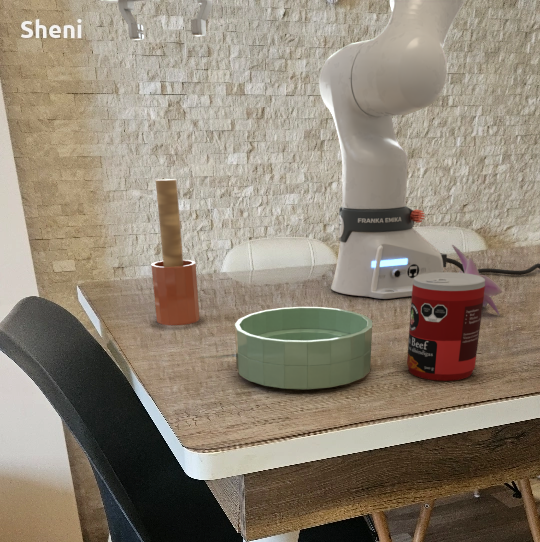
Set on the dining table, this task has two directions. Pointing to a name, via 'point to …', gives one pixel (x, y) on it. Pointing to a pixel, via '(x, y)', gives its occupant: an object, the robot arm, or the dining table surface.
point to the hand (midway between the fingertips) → (167, 37)
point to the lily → (490, 285)
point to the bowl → (303, 347)
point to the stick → (169, 222)
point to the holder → (175, 293)
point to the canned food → (445, 325)
